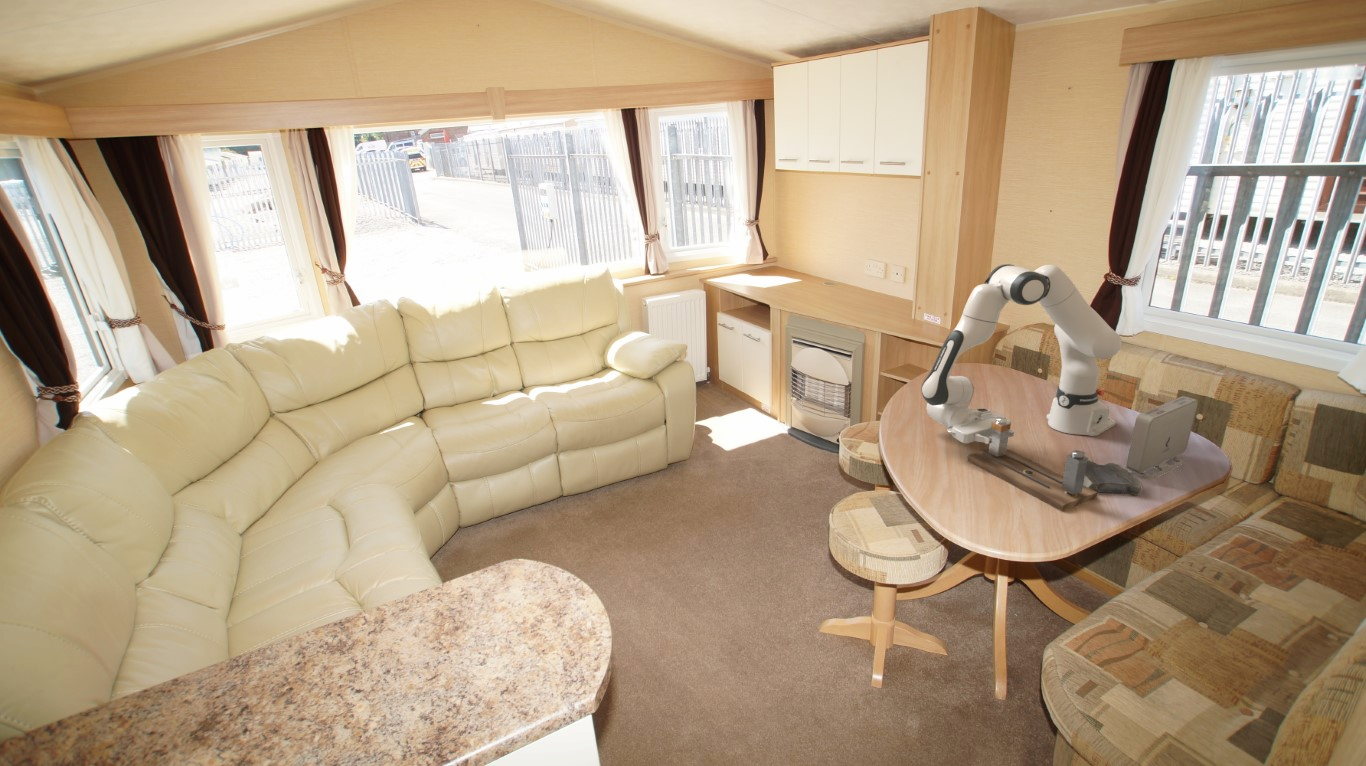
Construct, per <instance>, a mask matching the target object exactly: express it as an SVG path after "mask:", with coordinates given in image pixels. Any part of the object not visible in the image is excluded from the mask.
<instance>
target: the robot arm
mask: <svg viewBox="0 0 1366 766" xmlns="http://www.w3.org/2000/svg"><path fill="white" fill-rule="evenodd" d="M1009 302H1013V303H1016V304H1018V305H1022V306H1029V305H1031V306H1032V305H1035V304H1037V303H1038V302H1039V304H1040V306H1041V307H1042V308H1043V310H1044V311H1045V312H1046V314H1047V315H1048V316H1049V318H1050V319H1051V321H1052V322H1053V323H1054V324H1055V325H1054V328H1053V331H1054V335H1055V337H1056V339H1057V342H1058V344H1059V351H1060V357H1061V358H1060V359H1061V370H1060V378H1059V379H1060V380H1059V384H1058V386H1057V387H1056V392H1055V393H1056V394H1055V397H1054V398H1053V400H1052V404H1051V407H1050V411H1049V413H1047V414H1046V416H1045V417H1046V419H1047V424H1048V426H1049V427H1050V428H1052V429H1053V430H1056V431H1058V432H1061V433H1065V434H1069V435H1070V434H1071V435H1080V436H1081V435H1083V436H1090V437H1097V436H1099V435H1100V434H1102V433H1104V432H1106V431H1108V430H1109V429H1111V428H1112V427H1114V426H1115V425H1116V420H1114V419H1113V418H1111V417H1110V416H1109V415H1110V409H1109V407H1108V406H1107V405H1106V404H1104V403H1103V402H1102V401H1101V400H1099V396H1102V397H1103V396H1104V394H1105V390H1104V389H1100V388H1097V387H1098V384H1099V378H1100V377H1099V376H1100V368H1099V365H1098V363H1097V361H1096V359H1097V360H1109V359H1110V358H1111V359H1112V358H1113V357H1114V356H1116V355H1117V354H1118V353H1119V352H1120V350H1121V349H1122V344H1123V343H1122V342H1123V341H1122V337H1121V336H1120V334H1119V333H1118V332H1116V331H1115V330H1114V329H1113V328H1112V327H1111V326H1110V325H1109V324H1108V323H1107V321H1106V320H1105V319H1103V317H1102V316H1101V315H1100V314H1099V313H1098V312H1097V311H1096V310H1095V309H1094V308H1093V307H1091V305H1089V303H1088V302H1087V301H1086V300H1085V298H1084V296H1083V295H1082V294H1081V292H1080V291H1079V289H1078V288H1077V287H1076V285H1075V284H1074V282H1073V281H1072V280H1071V278H1070V277H1069V276H1068V275H1067V274H1066V273H1065V272H1064V271H1063V270H1062V269H1061V267H1058V265H1054V264H1044V265H1042V266H1041V265H1040V267H1038V268H1036V269H1035V270H1034V271H1033V270H1031V269H1028V268H1026V267H1022V266H1017V265H1015V264H1010V263H1009V264H1006V263H1005V264H1001V265H998V266H996V267H995V268H994V269H992V271H991V272H990V273H989V275H988V277H987V278H986V279H985V281H984V283H982V284H978V285H976V286H974V288H973V289H972V291H971V293H970V295H969V297H968V299H967V301H966V303H965V306H964V307H963V308H964V309H962V310H963V311H962V314H961V316H960V318H959V321H958V323H957V325H956V326H955V327H954V328H953V330H952V331H951V332H950V333H949V334H948V335H947V337H946V339H945V340H944V342H943V345H942V346H941V348H940V350H939V353H938V355H937V357H936V359H935V362H934V363H933V366H932V367H931V370H930V372H929V373H928V374H927V376H926V377H925V379H924V380H923V383H922V384H921V394H922V395H921V396H922V397H923V399H924V401H926V412H927V415H928V416H929V417H930V418H931V419H933V420H934V421H935V422H937V423H939V424H941V425H942V426H944V427H947V428H946V433H949V434H951V436H952V437H953V438H954V439H956V440H957V441H959V442H961V443H962V444H971V443H973V442H976V443H977V442H978V443H984V444H985V445H989V444H990V443H992V438H990V436H991V424H992V421H996V418H997V417H1004V418H1006V419H1007V422H1009V423H1010V430H1009V435H1008V438H1011V437H1012V438H1013V437H1014V436H1015V431H1014V430H1011V427H1012V421H1011V419H1009V418H1008V417H1006V416H1004V415H1002V414H999V413H996V412H991V409H989V408H969V405H970V404H971V401H972V399H973V396H974V392H975V390H974V389H975V387H974V384H973V383H972V380H970V378H968V377H967V376H965V375H964V376H963V375H951V374H952V372H953V370H954V367H955V365H956V363H957V360H958V359H959V357H960V356H961V355H962V354H963V353H965V352H966V351H968V350H969V349H971V348H974V347H976V346H979V345H982V344H985V343H986V342H987V341H989V340H990V339H991V337H992V336H993V334H994V333H995V330H996V327H997V326H998V325H997V324H998V322H999V320H1000V319H999V318H1000V315H1001V312H1002V311H1003V308H1004V307H1005V306H1006V304H1008V303H1009Z"/></svg>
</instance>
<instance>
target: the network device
mask: <svg viewBox="0 0 1366 766" xmlns="http://www.w3.org/2000/svg"><path fill="white" fill-rule="evenodd" d="M1198 404H1199V400H1198V399H1195V398H1191V397H1188V396H1184V395H1182V396H1179V397H1177V398H1175V399H1173V400H1170V401H1168V402H1165V403H1163V404H1160V405H1158V406H1156V407H1153V408H1151V409H1149V410H1146V411H1143V412H1141V413H1139V414H1138V415H1137V416H1136V419H1135V422H1134V427H1133V430H1132V431H1133V432H1132V437H1131V441H1130V445H1129V450H1128V455H1127V459H1126V464H1125V467H1126V468H1125V469H1126V470H1127V471H1128V470H1129V471H1128V472H1130V471H1131V472H1130V473H1133V474H1136V475H1138V476H1140V475H1141V476H1140V477H1144V478H1147V477H1148V479H1156V478H1159V477H1161V476H1162V474H1163V475H1165V474H1166V472H1167V473H1169V472H1171V471H1173V470H1174V469H1173V468H1175V467H1177V466H1179V467H1180V465H1181V464H1182V465H1183V464H1184V461H1183V460H1184V459H1183V460H1182V459H1181V458H1179V457H1177V456H1180V455H1181V454H1183V453H1185V452H1186V450H1187V447H1188V444H1189V440H1190V436H1191V432H1192V429H1193V424H1194V421H1195V416H1196V412H1197V407H1198ZM1173 459H1175V460H1174V461H1176V460H1177V461H1176V463H1174V464H1172V465H1166V464H1165V462H1167V461H1169V460H1173ZM1178 461H1179V462H1178ZM1182 465H1181V466H1182ZM1154 467H1155V468H1154ZM1153 468H1154V469H1156V468H1157V470H1159V469H1160V470H1159V471H1157V472H1156V473H1153V474H1148V473H1145V472H1147V471H1149V470H1151V469H1153ZM1177 468H1178V467H1177ZM1172 469H1173V470H1172ZM1175 469H1176V468H1175ZM1170 470H1171V471H1170ZM1168 471H1169V472H1168ZM1164 473H1165V474H1164ZM1160 475H1161V476H1160ZM1158 476H1159V477H1158Z"/></svg>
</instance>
